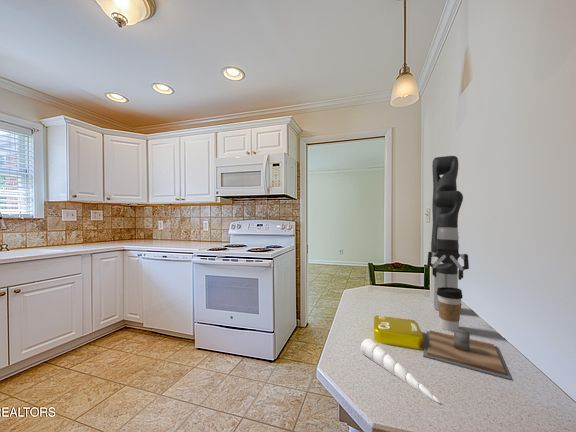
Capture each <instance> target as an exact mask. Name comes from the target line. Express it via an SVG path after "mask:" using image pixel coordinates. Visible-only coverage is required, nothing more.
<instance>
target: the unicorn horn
mask: <svg viewBox="0 0 576 432" xmlns="http://www.w3.org/2000/svg"><path fill="white" fill-rule="evenodd" d="M360 352H361V353H362V355H364V356H365V357H367V358H368V359H370V360H371V361H372V362H374V363H375V364H376V365H379V366H380V367H381V368H383V369H384V370H386V371H387V372H389V374H392V375H393V376H394V377H397V378H398V379H399V380H401V381H402V382H404V383H405V384H406V385H409V386H410V387H411V388H412V389H414V390H416V391H417V392H419V393H420V394H422V395H424V396H425V397H426V398H428V399H430V400H432V401H433V402H435V403H438V404H441V401H440V400H439V399H438V398H437V397H436V396H435V395H434V394H432V392H431V391H430V390H429V389H428V388H427V387H426V386H425V385H423V384H422V383H420V381H419V380H418V379H417V378H416V377H415V376H414V375H412V374H411V373H410V372H408V370H407V369H406V368H405V367H404V366H403V365H402V364H400V363H399V362H398V361H397V360H396V359H394V358H393V356H391V355H390V354H388V353H387V351H385V350H384V348H382V346H380V345H379V344H378V343H377V342H376V341H375V340H374V339H372V338H366V339H364V340H362V343H361V345H360Z"/></svg>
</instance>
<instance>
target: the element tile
mask: <svg viewBox="0 0 576 432" xmlns="http://www.w3.org/2000/svg"><path fill="white" fill-rule="evenodd" d="M373 341H374V342H375V343H377V344H383V345H388V346H389V345H390V346H395V347H401V348H406V349H412V350H424V335H423V332H422V331H421V328H420V326H419V324H418V322H417V321H416V320H413V319H406V318H400V317H394V316H393V317H391V316H385V315H375V316H373Z"/></svg>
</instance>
